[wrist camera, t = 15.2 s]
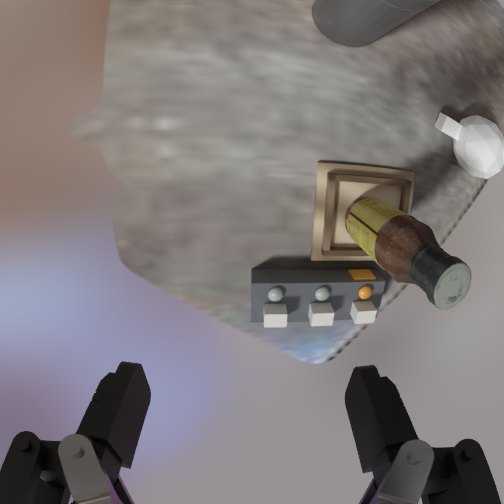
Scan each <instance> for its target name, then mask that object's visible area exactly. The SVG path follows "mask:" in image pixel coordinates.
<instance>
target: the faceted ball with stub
mask: <svg viewBox="0 0 504 504" xmlns="http://www.w3.org/2000/svg"><path fill="white" fill-rule="evenodd" d="M435 127H436V128H438V129H439V130H440V131H442V132H444V133H445V134H447V135H449V136H450V137H452V138H453V151H454V154H455V156H456V159H457V161H458V163H459V165H460V166H462V167H463V168H464V169H465V170H466V171H467V172H468V173H469V174H471V175H472V176H475V177H480V178H485V179H488V178H490V177H492V176H493V175H495V174H496V173H498V172H500V170H501V169H502V167H503V165H504V136H503V135H502V133H501V131H500V130H499V128H498V126H497V125H496V124H495V123H493V122H491V121H490V120H488V119H486V118H483V117H481V116H479V115H476V116H469V117H467V118H464V119H461V121H460V123H458V122H456V121H454V120H453V119H451V118H450V117H448V116H446V115H444V114H443V113H441V112H440V114H439V117H438V119H437V122H436V124H435Z"/></svg>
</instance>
